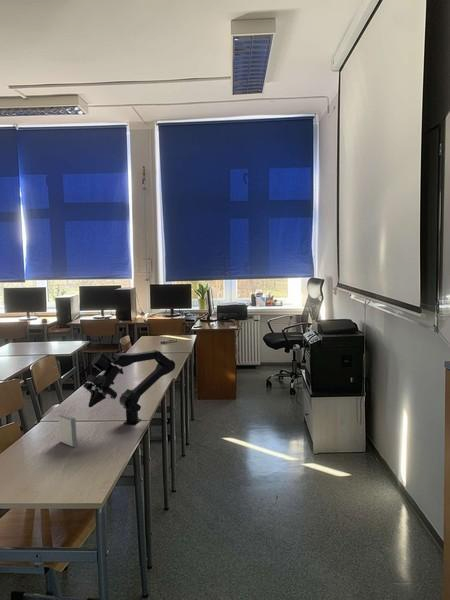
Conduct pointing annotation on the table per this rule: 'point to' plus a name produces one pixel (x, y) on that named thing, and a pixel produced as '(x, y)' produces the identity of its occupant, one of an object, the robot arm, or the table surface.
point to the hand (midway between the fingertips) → (89, 406)
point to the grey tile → (67, 430)
